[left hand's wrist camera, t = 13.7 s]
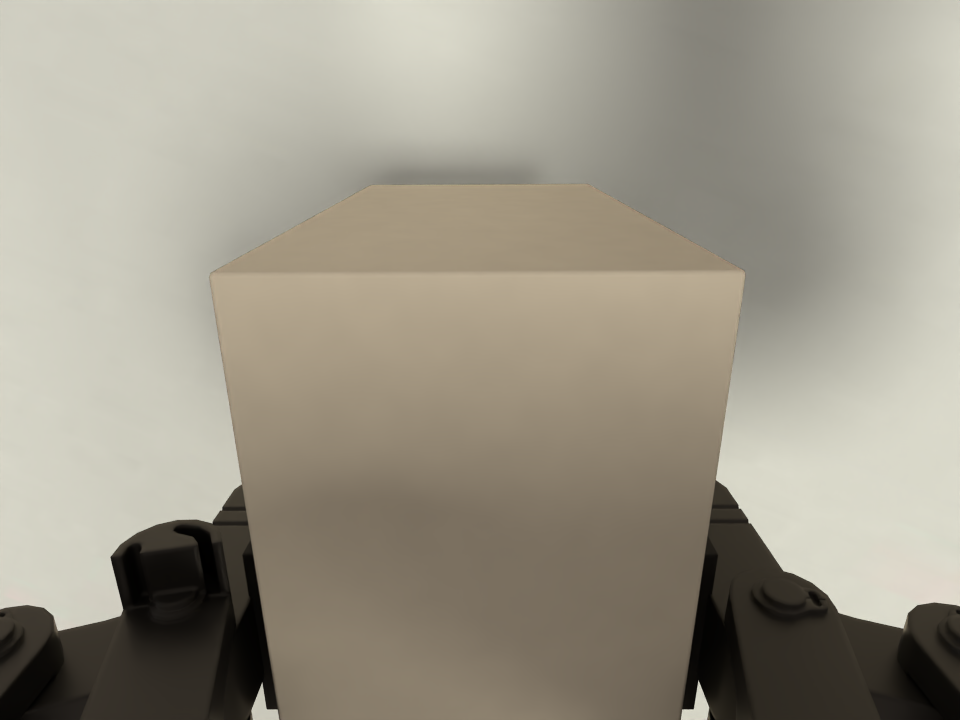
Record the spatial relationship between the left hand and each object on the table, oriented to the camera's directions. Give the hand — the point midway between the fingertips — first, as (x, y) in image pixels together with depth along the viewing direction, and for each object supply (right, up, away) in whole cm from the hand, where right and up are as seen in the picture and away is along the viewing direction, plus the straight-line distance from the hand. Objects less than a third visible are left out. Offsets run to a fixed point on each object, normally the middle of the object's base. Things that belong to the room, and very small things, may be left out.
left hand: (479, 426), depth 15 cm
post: (0, -21, +9) cm, 23 cm away
